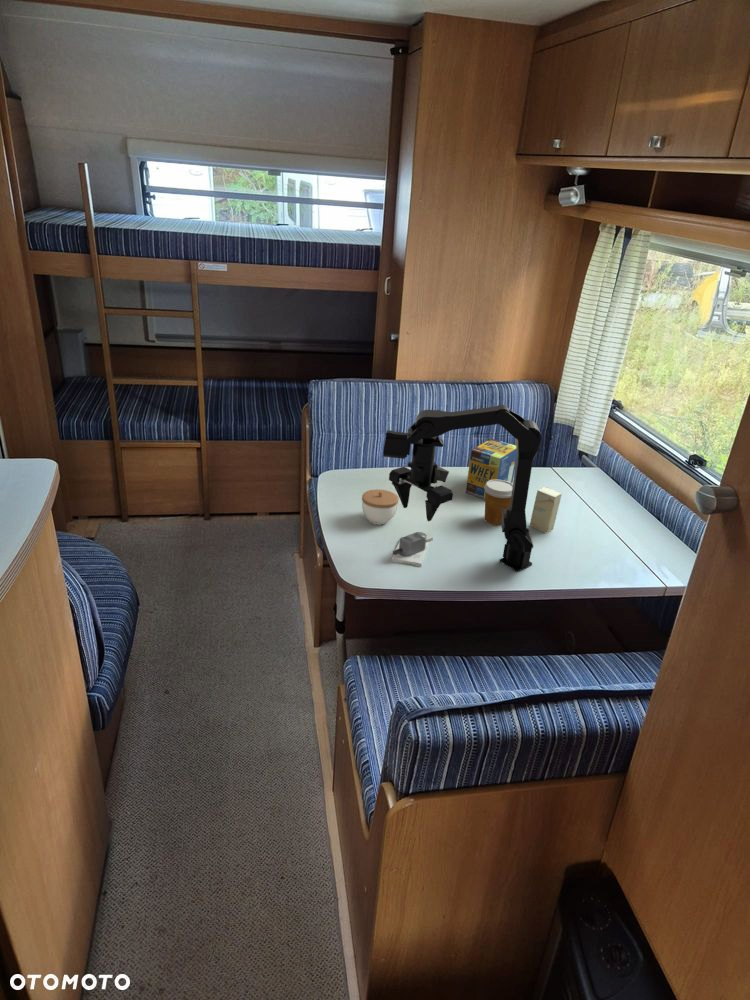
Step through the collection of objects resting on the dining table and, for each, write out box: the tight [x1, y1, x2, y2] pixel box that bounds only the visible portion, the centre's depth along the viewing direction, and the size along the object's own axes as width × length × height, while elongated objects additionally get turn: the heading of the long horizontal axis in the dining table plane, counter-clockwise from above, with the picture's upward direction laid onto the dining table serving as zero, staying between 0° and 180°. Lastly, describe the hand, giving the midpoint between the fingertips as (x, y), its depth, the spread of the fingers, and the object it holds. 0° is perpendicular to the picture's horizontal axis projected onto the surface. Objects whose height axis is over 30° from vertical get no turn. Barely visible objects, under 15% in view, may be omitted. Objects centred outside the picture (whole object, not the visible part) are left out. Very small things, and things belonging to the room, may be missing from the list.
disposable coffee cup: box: [484, 479, 513, 526], centre depth 197 cm, size 10×10×12 cm
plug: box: [392, 531, 434, 556], centre depth 177 cm, size 13×4×4 cm, turn 130°
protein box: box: [465, 438, 517, 500], centre depth 217 cm, size 10×15×16 cm
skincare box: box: [529, 486, 563, 534], centre depth 195 cm, size 6×4×12 cm
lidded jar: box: [361, 488, 399, 526], centre depth 193 cm, size 11×11×9 cm
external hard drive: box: [391, 537, 430, 567], centre depth 179 cm, size 2×8×12 cm
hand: (417, 514), depth 174 cm, fingers open, 9 cm apart
